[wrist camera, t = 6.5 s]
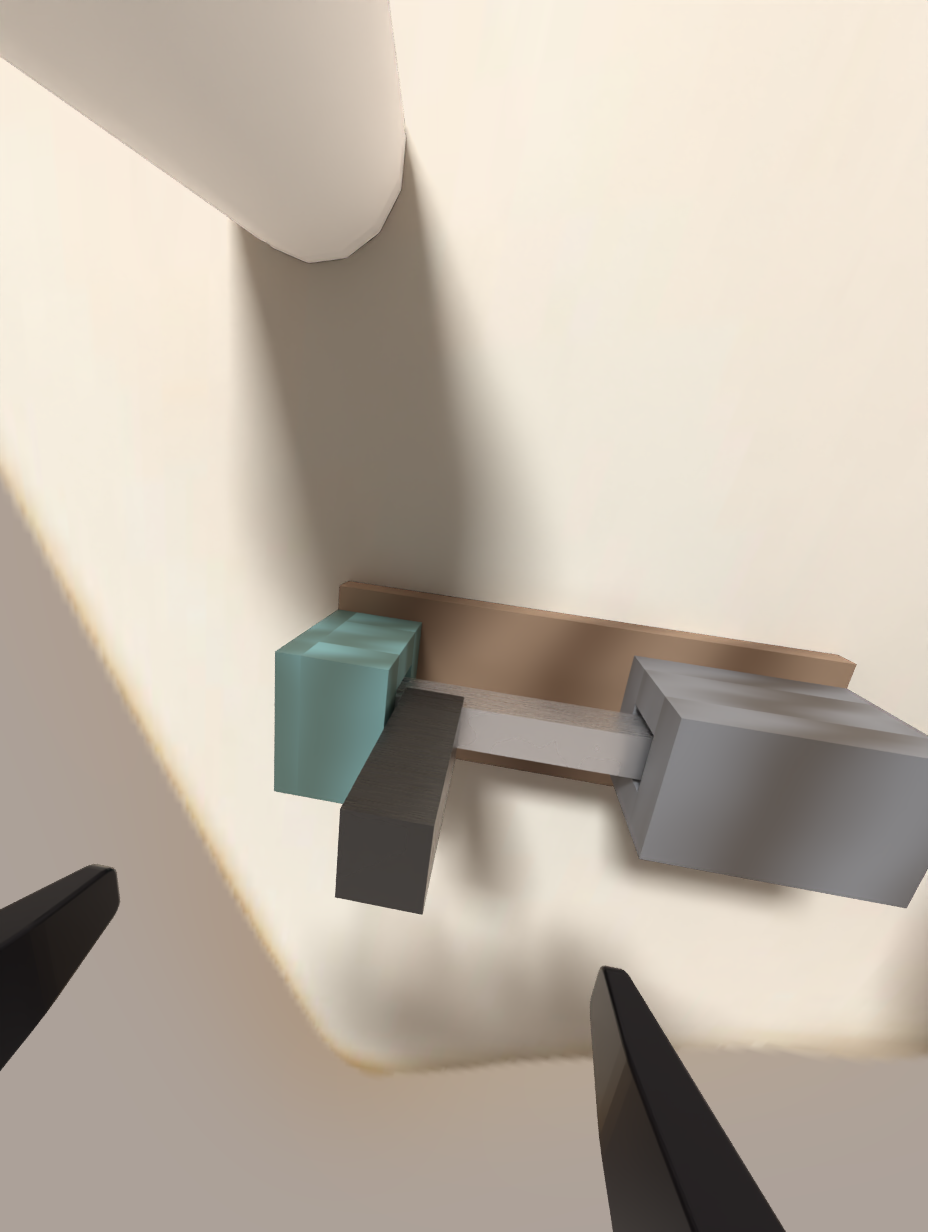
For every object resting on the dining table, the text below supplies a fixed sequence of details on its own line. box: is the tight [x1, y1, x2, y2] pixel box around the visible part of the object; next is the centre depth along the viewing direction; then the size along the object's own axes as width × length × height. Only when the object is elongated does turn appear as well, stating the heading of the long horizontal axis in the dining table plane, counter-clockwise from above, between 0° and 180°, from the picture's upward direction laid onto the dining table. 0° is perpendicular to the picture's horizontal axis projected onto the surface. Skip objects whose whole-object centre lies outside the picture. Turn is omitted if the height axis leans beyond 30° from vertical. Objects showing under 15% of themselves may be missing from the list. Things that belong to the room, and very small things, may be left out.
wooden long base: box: [274, 581, 928, 908], centre depth 16 cm, size 20×7×6 cm, turn 82°
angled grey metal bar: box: [335, 677, 654, 914], centre depth 13 cm, size 13×2×8 cm, turn 82°
